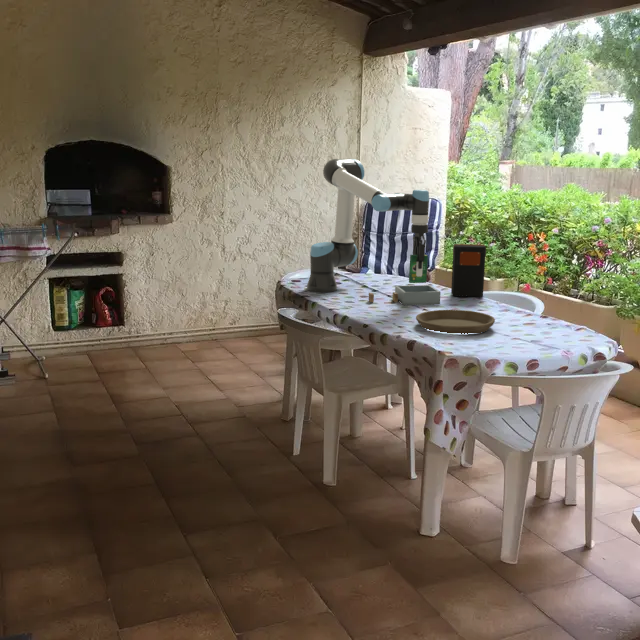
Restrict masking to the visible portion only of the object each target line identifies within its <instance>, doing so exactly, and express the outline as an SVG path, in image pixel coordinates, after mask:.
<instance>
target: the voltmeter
mask: <svg viewBox="0 0 640 640" xmlns="http://www.w3.org/2000/svg"><path fill="white" fill-rule="evenodd" d="M452 247H453V249H452V270H451V287H450V288H451V292H450V293H451V295H452V296H453V297H466V296H468V298H469V297H470V298H474V297H478V298H482V297H484V285H485V267H486V266H485V265H486V257H487V255H486V254H487V246H486V245H485V244H470V243H469V244H468V243H467V244H464V243H454V244H453V246H452Z"/></svg>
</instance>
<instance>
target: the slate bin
mask: <svg viewBox="0 0 640 640" xmlns="http://www.w3.org/2000/svg"><path fill="white" fill-rule="evenodd" d="M394 292H396V293H398V302H399V301H400V302H401V303H402V305H403V306H431V305H432V306H433V305H434V304H440V305H441V293H442V292H441V291H440V290H438V289H437V288H436V287H434V286H432V285H430V284H423V285H421V284H417V285H414V284H412V285H411V284H410V285H395V287H394ZM400 302H399V303H400ZM401 303H400V304H401ZM434 306H435V305H434Z"/></svg>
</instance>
